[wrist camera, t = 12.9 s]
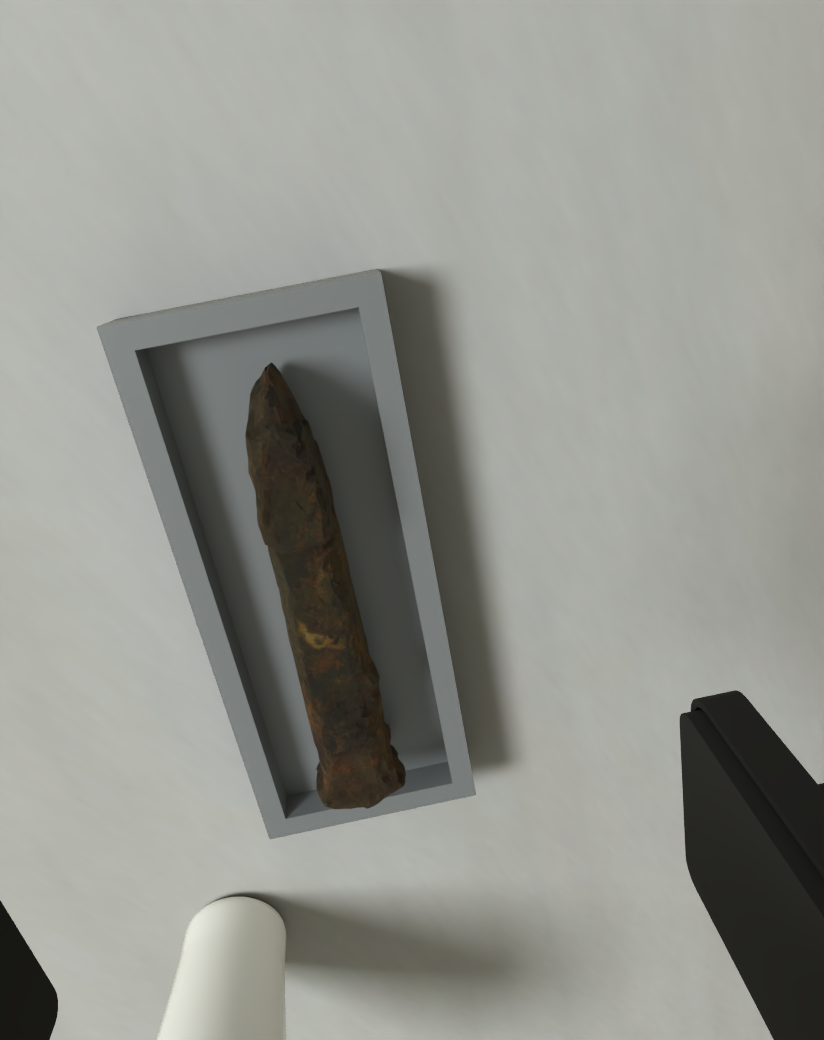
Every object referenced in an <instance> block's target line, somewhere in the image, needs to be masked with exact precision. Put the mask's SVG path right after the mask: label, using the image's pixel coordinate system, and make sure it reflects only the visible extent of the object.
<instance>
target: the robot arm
mask: <svg viewBox="0 0 824 1040" xmlns="http://www.w3.org/2000/svg"><path fill="white" fill-rule="evenodd" d="M680 739H681V761H682V783H683V805H684V828H685V850H686V861H687V866H688V869H689V873H690V876H691V879H692V881H693V884H694V886H695V888H696V890H697V892H698V894H699V896H700V898H701V900H702V902H703V903H704V905H705V907H706V909H707V911H708V913H709V915H710V917H711V919H712V921H713V923H714V925H715V927H716V929H717V931H718V932H719V934H720V936H721V938H722V940H723V942H724V944H725V946H726V948H727V950H728V952H729V954H730V956H731V958H732V960H733V961H734V963H735V965H736V967H737V969H738V971H739V973H740V975H741V977H742V979H743V981H744V983H745V985H746V987H747V989H748V990H749V992H750V994H751V996H752V998H753V1000H754V1002H755V1004H756V1006H757V1008H758V1010H759V1012H760V1014H761V1016H762V1018H763V1020H764V1021H765V1023H766V1025H767V1027H768V1029H769V1031H770V1033H771V1035H772V1037H773V1039H774V1040H824V783H822V784H817V783H816V782H815V781H814V779H813V778H812V777H811V776H810V775H809V773H808V772H807V771H806V770H805V769H804V767H803V766H802V765H801V764H800V762H799V761H798V760H797V759H796V758H795V756H794V755H793V754H792V753H791V751H790V750H789V749H788V748H787V747H786V745H785V744H784V743H783V742H782V741H781V739H780V738H779V737H778V736H777V734H776V733H775V732H774V731H773V730H772V728H771V727H770V726H769V725H768V724H767V722H766V721H765V720H764V719H763V717H762V716H761V715H760V714H759V713H758V711H757V710H756V709H755V708H754V707H753V705H752V704H751V703H750V702H749V700H748V699H747V698H746V697H745V696H744V695H743V694H742V693H741V692H739V691H731V692H726V693H721V694H716V695H712V696H707V697H702V698H697V699H694V700H693V701H692V704H691V712H687V713H683V714H681V716H680ZM57 1012H58V999H57V993H56V991H55V989H54V987H53V985H52V984H51V982H50V980H49V979H48V977H47V976H46V974H45V972H44V971H43V969H42V967H41V966H40V964H39V963H38V961H37V959H36V958H35V956H34V954H33V953H32V951H31V950H30V948H29V946H28V945H27V943H26V941H25V940H24V938H23V937H22V935H21V933H20V932H19V930H18V928H17V927H16V925H15V924H14V922H13V920H12V919H11V917H10V915H9V914H8V912H7V911H6V909H5V907H4V906H3V904H2V902H1V901H0V1040H49V1039H50V1036H51V1034H52V1031H53V1028H54V1025H55V1022H56V1018H57Z"/></svg>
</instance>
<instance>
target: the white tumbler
mask: <svg viewBox="0 0 824 1040" xmlns="http://www.w3.org/2000/svg"><path fill="white" fill-rule="evenodd" d="M285 953H286V928H285V925H284V922H283V920H282V918H281V916H280V915H279V913H278V912H277V911H276V910H275V909H274V908H273V907H271V906H270V905H268V904H267V903H265V902H263V901H260V900H257V899H254V898H249V897H228V898H223V899H220V900H217V901H214V902H212V903H210V904H208V905H206V906H205V907H204V908H202V909H201V910H200V911H199V912H198V913H197V914H196V915H195V916H194V917H193V919H192V920H191V922H190V923H189V925H188V928H187V931H186V934H185V938H184V943H183V947H182V952H181V957H180V961H179V965H178V968H177V972H176V975H175V979H174V982H173V986H172V989H171V992H170V996H169V999H168V1003H167V1006H166V1009H165V1013H164V1016H163V1019H162V1023H161V1026H160V1029H159V1033H158V1036H157V1039H156V1040H286V1008H285Z"/></svg>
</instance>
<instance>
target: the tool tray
mask: <svg viewBox="0 0 824 1040" xmlns="http://www.w3.org/2000/svg"><path fill="white" fill-rule="evenodd" d="M97 330H98V333H99V336H100V339H101V342H102V345H103V348H104V351H105V354H106V357H107V359H108V362H109V365H110V368H111V371H112V374H113V377H114V380H115V383H116V386H117V389H118V392H119V395H120V398H121V401H122V404H123V407H124V410H125V413H126V416H127V419H128V422H129V425H130V428H131V430H132V433H133V436H134V439H135V442H136V445H137V448H138V451H139V454H140V457H141V460H142V463H143V466H144V469H145V472H146V475H147V478H148V481H149V484H150V487H151V490H152V493H153V496H154V498H155V501H156V504H157V507H158V510H159V513H160V516H161V519H162V522H163V525H164V528H165V531H166V534H167V537H168V540H169V543H170V546H171V549H172V552H173V555H174V558H175V561H176V564H177V567H178V569H179V572H180V575H181V578H182V581H183V584H184V587H185V590H186V593H187V596H188V599H189V602H190V605H191V608H192V611H193V614H194V617H195V620H196V623H197V626H198V629H199V632H200V635H201V637H202V640H203V643H204V646H205V649H206V652H207V655H208V658H209V661H210V664H211V667H212V670H213V673H214V676H215V679H216V682H217V685H218V688H219V691H220V694H221V697H222V700H223V703H224V705H225V708H226V711H227V714H228V717H229V720H230V723H231V726H232V729H233V732H234V735H235V738H236V741H237V744H238V747H239V750H240V753H241V756H242V759H243V762H244V765H245V768H246V771H247V774H248V776H249V779H250V782H251V785H252V788H253V791H254V794H255V797H256V800H257V803H258V806H259V809H260V812H261V815H262V818H263V821H264V824H265V827H266V830H267V833H268V836H269V839H274V838H278V837H283V836H288V835H292V834H297V833H301V832H306V831H311V830H315V829H320V828H325V827H329V826H334V825H339V824H343V823H348V822H353V821H357V820H362V819H366V818H371V817H376V816H380V815H385V814H390V813H394V812H399V811H404V810H408V809H413V808H418V807H422V806H427V805H432V804H436V803H441V802H445V801H450V800H455V799H459V798H464V797H469V796H473V795H476V792H475V786H474V781H473V775H472V770H471V764H470V759H469V753H468V748H467V742H466V737H465V731H464V726H463V720H462V715H461V709H460V704H459V698H458V693H457V687H456V682H455V676H454V671H453V665H452V660H451V654H450V649H449V643H448V638H447V632H446V627H445V621H444V616H443V610H442V605H441V599H440V594H439V588H438V583H437V577H436V572H435V566H434V561H433V555H432V550H431V544H430V539H429V533H428V528H427V522H426V517H425V511H424V506H423V500H422V495H421V489H420V484H419V478H418V473H417V467H416V462H415V456H414V451H413V445H412V440H411V434H410V429H409V423H408V418H407V412H406V407H405V401H404V396H403V390H402V385H401V379H400V374H399V368H398V363H397V357H396V352H395V346H394V341H393V335H392V330H391V324H390V319H389V313H388V308H387V302H386V297H385V291H384V286H383V280H382V275H381V272H380V271H379V270H378V269H375V270H369V271H364V272H359V273H354V274H349V275H343V276H338V277H333V278H328V279H322V280H317V281H312V282H307V283H302V284H296V285H291V286H286V287H281V288H276V289H270V290H265V291H260V292H255V293H250V294H244V295H239V296H234V297H229V298H224V299H218V300H213V301H208V302H203V303H197V304H192V305H187V306H182V307H177V308H171V309H166V310H161V311H156V312H151V313H145V314H140V315H135V316H130V317H125V318H119V319H115V320H113V321H111V322H108V323H106V324H103V325H101V326H98V327H97ZM270 363H273V364H274V365H275V366H276V367H277V369H278V370H279V371H280V373H281V374H282V376H283V378H284V380H285V382H286V384H287V386H288V387H289V389H290V391H291V393H292V394H293V396H294V398H295V399H296V402H297V404H298V406H299V408H300V411H301V413H302V414H303V416H304V418H305V419H306V420H307V421H308V422H309V425H310V427H311V430H312V435H313V438H314V440H315V441H316V442H317V443H318V446H319V449H320V452H321V456H322V459H323V462H324V465H325V469H326V472H327V476H328V478H329V480H330V484H331V488H332V493H333V500H334V507H335V512H336V515H337V519H338V523H339V526H340V530H341V535H342V539H343V543H344V547H345V552H346V556H347V560H348V564H349V570H350V576H351V580H352V584H353V588H354V592H355V596H356V600H357V604H358V608H359V612H360V616H361V620H362V624H363V628H364V633H365V636H366V639H367V644H368V650H369V655H370V657H371V659H372V661H373V662H374V664H375V666H376V668H377V670H378V673H379V676H380V679H379V690H380V693H381V701H382V709H383V714H384V722H385V723H386V724H388V725H389V726H390V729H391V741H390V744H391V745H393V746H394V748H395V749H396V751H397V752H398V759H399V760H400V761H401V762H402V763H403V764H404V767H405V772H406V777H405V785H404V786H403V787H402V788H400V789H398V790H397V791H395V792H394V793H392V794H390V795H389V796H387V797H386V798H384V799H383V800H382V801H381V802H380V803H378V804H377V805H375V806H373V807H370V808H368V809H366V808H364V807H361V808H353V809H331V808H329V807H325V805H324V804H323V803H322V801H321V799H320V797H319V796H318V793H317V790H316V780H317V772H318V771H317V770H316V768H317V765H318V763H319V756H318V751H317V748H316V746H315V744H314V740H313V736H312V732H311V728H310V724H309V720H308V716H307V712H306V708H305V703H304V699H303V695H302V690H301V686H300V682H299V678H298V674H297V670H296V666H295V662H294V657H293V653H292V649H291V646H290V642H289V638H288V633H287V627H286V621H285V617H284V613H283V610H282V605H281V598H280V593H279V588H278V586H277V583H276V578H275V574H274V571H273V567H272V563H271V560H270V556H269V552H268V546H267V545H265V543H264V541H263V539H262V535H261V532H260V529H259V527H258V522H257V507H256V492H255V489H254V486H253V483H252V480H251V478H250V475H249V473H248V455H247V449H246V439H245V433H246V427H247V422H248V413H249V401H250V393H251V390H252V388H253V386H254V384H255V382H256V381H257V380H258V379H259V377H260V376H261V374H262V372H263V370H264V368H265V367H266V366H267V365H269V364H270Z"/></svg>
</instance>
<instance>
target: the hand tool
mask: <svg viewBox="0 0 824 1040" xmlns="http://www.w3.org/2000/svg"><path fill="white" fill-rule="evenodd" d="M245 439H246V449H247V455H248V473H249V475H250V478H251V480H252V483H253V486H254V489H255V492H256V507H257V522H258V527H259V529H260V532H261V535H262V539H263V541H264V543H265V545H267V546H268V552H269V556H270V560H271V563H272V567H273V571H274V574H275V578H276V583H277V586H278V588H279V593H280V598H281V605H282V610H283V613H284V617H285V621H286V627H287V633H288V638H289V642H290V646H291V649H292V653H293V657H294V662H295V666H296V670H297V674H298V678H299V682H300V686H301V690H302V695H303V699H304V703H305V708H306V712H307V716H308V720H309V724H310V728H311V732H312V736H313V740H314V744H315V746H316V748H317V751H318V756H319V763H318V765H317V768H316V770H317V771H318V772H317V780H316V790H317V793H318V796H319V797H320V799H321V801H322V803H323V804H324V805H325V807H329V808H331V809H353V808H361V807H364V808H366V809H368V808H370V807H373V806H375V805H377V804H378V803H380V802H381V801H382V800H383V799H384V798H386V797H387V796H389V795H390V794H392V793H394V792H395V791H397V790H398V789H400V788H402V787H403V786H404V785H405V777H406V772H405V767H404V764H403V763H402V762H401V761H400V760H399V759H398V752H397V751H396V749H395V748H394V746H393V745H391V744H390V741H391V729H390V726H389V725H388V724H386V723H385V722H384V714H383V709H382V701H381V693H380V690H379V679H380V676H379V673H378V670H377V668H376V666H375V664H374V662H373V661H372V659H371V657H370V655H369V650H368V644H367V639H366V636H365V633H364V628H363V624H362V620H361V616H360V612H359V608H358V604H357V600H356V596H355V592H354V588H353V584H352V580H351V576H350V570H349V564H348V560H347V556H346V552H345V547H344V543H343V539H342V535H341V530H340V526H339V523H338V519H337V515H336V512H335V507H334V500H333V493H332V488H331V484H330V480H329V478H328V476H327V472H326V469H325V465H324V462H323V459H322V456H321V452H320V449H319V446H318V443H317V442H316V441H315V440H314V438H313V435H312V430H311V427H310V425H309V422H308V421H307V420H306V419H305V418H304V416H303V414H302V413H301V411H300V408H299V406H298V404H297V402H296V399H295V398H294V396H293V394H292V393H291V391H290V389H289V387H288V386H287V384H286V382H285V380H284V378H283V376H282V374H281V373H280V371H279V370H278V369H277V367H276V366H275V365H274V364H273V363H270V364H269V365H267V366H266V367H265V368H264V370H263V372H262V374H261V376H260V377H259V379H258V380H257V381H256V382H255V384H254V386H253V388H252V390H251V393H250V401H249V413H248V422H247V427H246V433H245Z"/></svg>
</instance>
